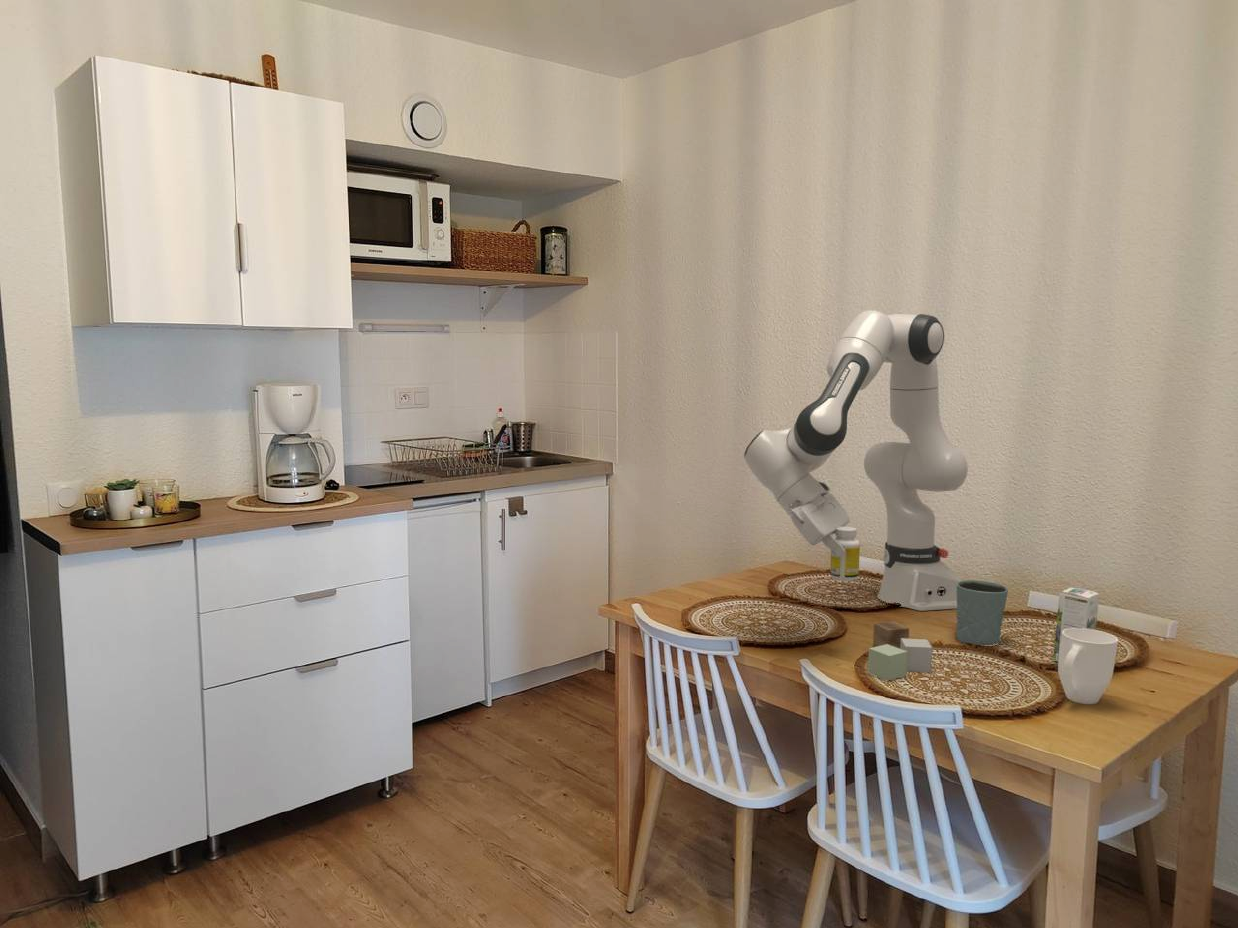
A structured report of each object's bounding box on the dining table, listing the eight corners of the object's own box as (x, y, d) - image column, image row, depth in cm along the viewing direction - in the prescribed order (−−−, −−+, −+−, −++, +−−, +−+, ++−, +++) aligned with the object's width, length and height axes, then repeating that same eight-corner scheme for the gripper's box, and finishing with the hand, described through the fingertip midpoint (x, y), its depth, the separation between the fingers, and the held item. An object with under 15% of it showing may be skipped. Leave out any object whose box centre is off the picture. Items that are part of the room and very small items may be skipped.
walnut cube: (893, 644, 191) (894, 621, 190) (908, 651, 186) (909, 628, 186) (873, 646, 190) (874, 623, 189) (887, 654, 185) (888, 630, 184)
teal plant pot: (943, 635, 197) (946, 581, 196) (981, 631, 200) (985, 578, 199) (975, 649, 188) (978, 593, 186) (1015, 645, 191) (1018, 590, 189)
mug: (1068, 685, 168) (1075, 623, 166) (1118, 701, 161) (1126, 636, 159) (1038, 700, 160) (1045, 635, 158) (1090, 718, 154) (1098, 650, 152)
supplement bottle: (860, 576, 185) (863, 527, 183) (855, 582, 180) (857, 532, 178) (833, 573, 187) (835, 524, 186) (827, 579, 182) (829, 529, 181)
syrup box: (1063, 655, 185) (1068, 586, 183) (1094, 662, 181) (1099, 591, 179) (1052, 661, 181) (1057, 591, 179) (1084, 669, 177) (1089, 597, 175)
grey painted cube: (925, 663, 179) (926, 639, 179) (931, 672, 174) (932, 647, 174) (899, 662, 180) (900, 638, 179) (904, 671, 175) (905, 646, 174)
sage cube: (885, 668, 176) (886, 644, 176) (906, 676, 172) (907, 651, 171) (867, 673, 173) (868, 648, 173) (888, 681, 169) (889, 655, 169)
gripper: (798, 495, 175) (846, 550, 172) (828, 482, 193) (872, 532, 190) (775, 516, 178) (822, 570, 175) (807, 501, 196) (850, 550, 192)
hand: (848, 550), depth 182 cm, fingers closed on supplement bottle, 6 cm apart
